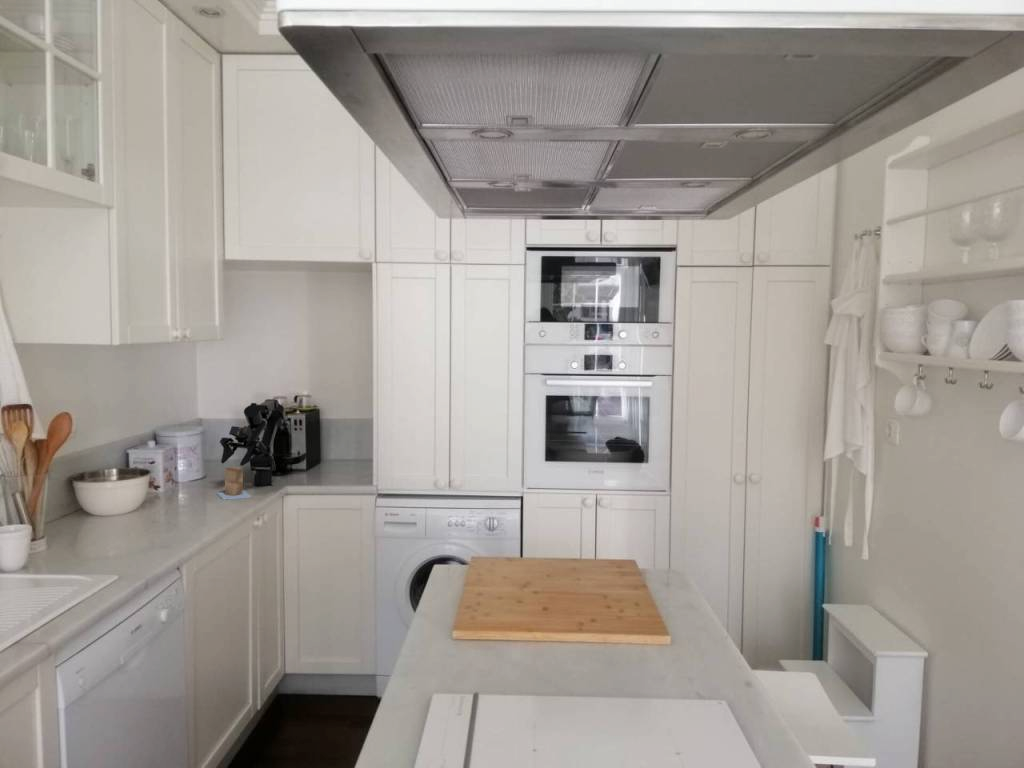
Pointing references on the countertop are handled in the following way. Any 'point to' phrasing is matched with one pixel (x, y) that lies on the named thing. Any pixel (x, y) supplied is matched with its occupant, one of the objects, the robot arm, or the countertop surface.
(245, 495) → the light blue square tile
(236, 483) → the tan wooden block
